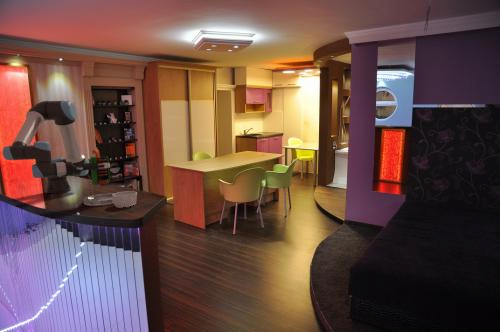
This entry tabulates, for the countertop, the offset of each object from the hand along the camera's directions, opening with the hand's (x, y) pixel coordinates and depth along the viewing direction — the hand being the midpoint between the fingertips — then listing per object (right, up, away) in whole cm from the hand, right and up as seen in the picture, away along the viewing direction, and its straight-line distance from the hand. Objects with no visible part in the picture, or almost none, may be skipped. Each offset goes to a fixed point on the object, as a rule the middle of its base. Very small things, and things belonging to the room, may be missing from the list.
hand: (108, 164), depth 203 cm
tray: (-3, -22, 0) cm, 22 cm away
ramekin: (+14, -24, -9) cm, 29 cm away
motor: (-4, -11, -1) cm, 12 cm away
